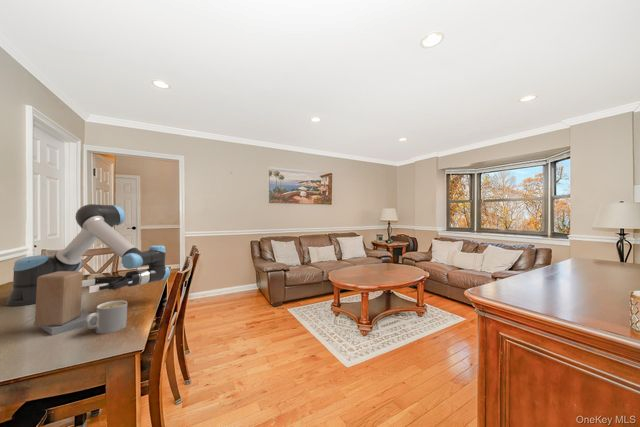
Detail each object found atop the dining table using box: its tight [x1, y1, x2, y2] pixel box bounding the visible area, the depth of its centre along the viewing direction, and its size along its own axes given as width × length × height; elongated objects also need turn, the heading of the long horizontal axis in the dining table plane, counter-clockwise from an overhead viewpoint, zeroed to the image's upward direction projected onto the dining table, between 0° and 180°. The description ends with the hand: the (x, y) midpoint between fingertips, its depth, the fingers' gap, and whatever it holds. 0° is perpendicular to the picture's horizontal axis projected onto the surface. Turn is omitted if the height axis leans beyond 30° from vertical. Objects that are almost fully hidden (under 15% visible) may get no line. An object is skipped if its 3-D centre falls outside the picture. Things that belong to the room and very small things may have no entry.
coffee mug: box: [85, 300, 128, 335], centre depth 103 cm, size 13×10×10 cm
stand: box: [39, 310, 96, 336], centre depth 107 cm, size 14×14×2 cm
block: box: [34, 270, 84, 327], centre depth 104 cm, size 10×10×20 cm
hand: (82, 287), depth 110 cm, fingers open, 13 cm apart
